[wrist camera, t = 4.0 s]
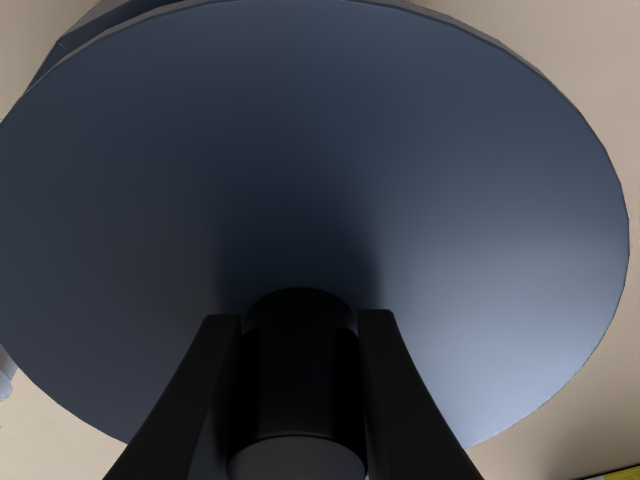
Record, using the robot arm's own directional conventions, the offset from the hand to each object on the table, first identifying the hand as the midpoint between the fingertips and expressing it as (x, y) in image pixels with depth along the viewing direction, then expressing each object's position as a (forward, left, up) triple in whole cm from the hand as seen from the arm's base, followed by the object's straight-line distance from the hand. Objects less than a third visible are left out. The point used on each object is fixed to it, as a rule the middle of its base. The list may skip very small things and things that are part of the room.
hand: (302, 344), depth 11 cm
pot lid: (0, 0, -1) cm, 1 cm away
